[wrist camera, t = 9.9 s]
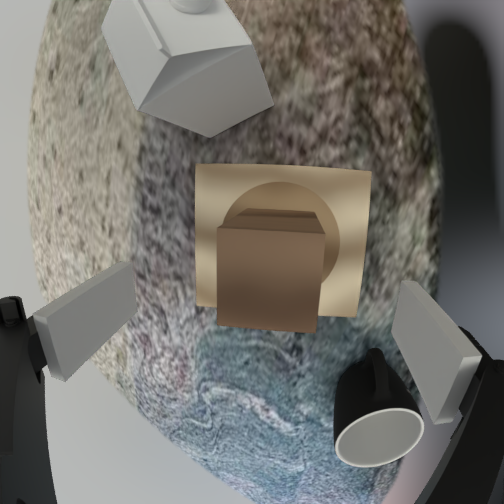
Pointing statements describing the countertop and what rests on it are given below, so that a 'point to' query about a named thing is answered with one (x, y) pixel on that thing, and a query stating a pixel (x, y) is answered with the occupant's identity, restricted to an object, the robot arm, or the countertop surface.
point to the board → (288, 198)
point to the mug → (374, 414)
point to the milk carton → (186, 62)
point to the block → (270, 270)
